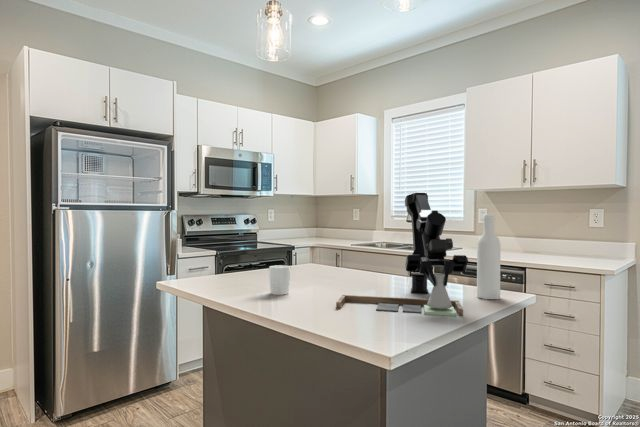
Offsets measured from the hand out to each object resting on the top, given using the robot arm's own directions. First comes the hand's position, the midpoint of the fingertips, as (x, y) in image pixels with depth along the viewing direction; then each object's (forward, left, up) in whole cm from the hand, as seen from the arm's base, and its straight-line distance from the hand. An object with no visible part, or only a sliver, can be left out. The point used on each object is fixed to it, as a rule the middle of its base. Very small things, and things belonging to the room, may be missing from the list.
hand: (440, 285), depth 126 cm
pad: (-1, 0, -8) cm, 8 cm away
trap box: (-3, -13, -8) cm, 16 cm away
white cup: (-16, -57, -8) cm, 60 cm away
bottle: (-27, +18, -8) cm, 34 cm away
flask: (-1, 0, -7) cm, 7 cm away
